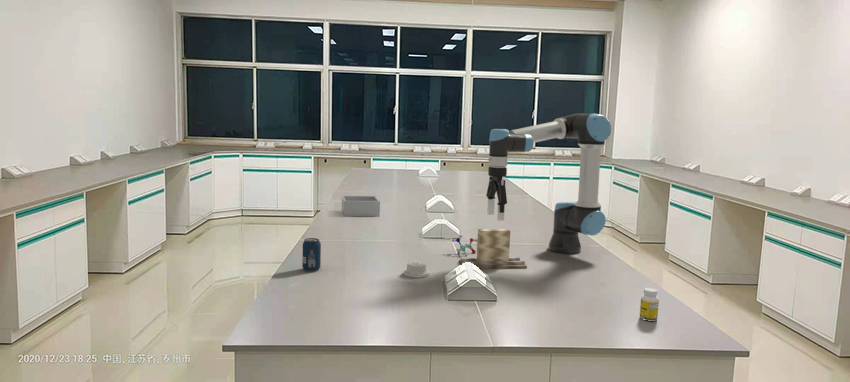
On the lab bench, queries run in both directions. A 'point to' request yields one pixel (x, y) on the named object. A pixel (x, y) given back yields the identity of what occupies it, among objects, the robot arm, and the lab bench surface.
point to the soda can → (311, 254)
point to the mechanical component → (416, 270)
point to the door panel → (493, 245)
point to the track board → (496, 263)
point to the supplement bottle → (649, 305)
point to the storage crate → (360, 206)
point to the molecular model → (465, 245)
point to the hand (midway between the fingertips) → (495, 217)
